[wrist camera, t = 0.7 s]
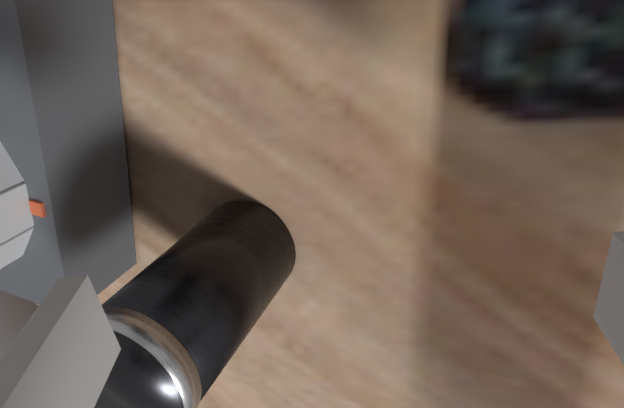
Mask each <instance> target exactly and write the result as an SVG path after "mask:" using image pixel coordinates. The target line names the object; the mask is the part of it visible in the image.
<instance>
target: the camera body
mask: <svg viewBox="0 0 624 408" xmlns="http://www.w3.org/2000/svg"><path fill="white" fill-rule="evenodd" d="M135 264H136V253H135V242H134V231H133V221H132V210H131V199H130V188H129V177H128V166H127V156H126V145H125V134H124V123H123V112H122V102H121V91H120V80H119V69H118V58H117V47H116V37H115V26H114V15H113V4H112V0H0V290H1V291H4V292H7V293H10V294H13V295H15V296H18V297H21V298H24V299H27V300H29V301H32V302H35V303H37V304H41V302H42V301H43V300H44V298H45V297H46V295H47V294H48V293H49V291H50V290H51V288H52V287H53V286H54V284H55V283H56V281H57V280H58V279H59V277H66V276H78V275H88V277H89V279H90V281H91V283H92V285H93V288H94V290H95V292H96V294H97V295H98V294H99V293H100V292H101V291H103V290H104V289H105V288H106V287H108V286H109V285H110V284H111V283H112V282H114V281H115V280H116V279H117V278H119V277H120V276H121V275H122V274H124V273H125V272H126V271H127V270H129V269H130V268H131V267H132V266H134V265H135Z"/></svg>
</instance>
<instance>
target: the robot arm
mask: <svg viewBox="0 0 624 408" xmlns="http://www.w3.org/2000/svg"><path fill="white" fill-rule="evenodd" d="M593 318H594V319H595V321H596V322H597V324H598V325H599V327H600V329H601V330H602V332H603V333H604V335H605V336H606V338H607V339H608V341H609V342H610V344H611V346H612V347H613V349H614V350H615V352H616V353H617V355H618V356H619V358H620V360H621V361H622V363H623V364H624V232H613V235H612V239H611V243H610V247H609V252H608V256H607V260H606V264H605V269H604V273H603V277H602V281H601V286H600V290H599V294H598V298H597V303H596V307H595V311H594V315H593ZM120 350H121V347H120V345H119V343H118V341H117V338H116V336H115V334H114V332H113V330H112V327H111V325H110V323H109V321H108V319H107V316H106V314H105V312H104V310H103V307H102V305H101V303H100V301H99V299H98V296H97V294H96V292H95V290H94V288H93V285H92V283H91V281H90V279H89V277H88V275H78V276H66V277H59V279H58V280H57V281H56V283H55V284H54V286H53V287H52V288H51V290H50V291H49V293H48V294H47V295H46V297H45V298H44V300H43V301H42V302H41V304H40V305H39V307H38V308H37V309H36V311H35V312H34V314H33V315H32V316H31V318H30V319H29V321H28V322H27V323H26V325H25V326H24V328H23V329H22V331H21V332H20V333H19V335H18V336H17V338H16V339H15V340H14V342H13V343H12V345H11V346H10V347H9V349H8V350H7V352H6V353H5V354H4V356H3V357H2V359H1V360H0V408H94V407H95V404H96V402H97V400H98V398H99V396H100V394H101V391H102V389H103V387H104V385H105V383H106V381H107V378H108V376H109V374H110V372H111V370H112V368H113V365H114V363H115V361H116V359H117V357H118V355H119V352H120Z"/></svg>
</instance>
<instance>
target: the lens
mask: <svg viewBox="0 0 624 408" xmlns="http://www.w3.org/2000/svg"><path fill="white" fill-rule="evenodd" d="M295 257H296V253H295V246H294V242H293V239H292V237H291V235H290V233H289V231H288V229H287V228H286V226H285V225H284V224H283V222H282V221H281V220H280V219H279V218H278V217H277V216H276V215H275V214H273V213H272V212H271V211H269V210H268V209H266V208H264V207H262V206H260V205H258V204H255V203H252V202H247V201H232V202H228V203H225V204H223V205H221V206H219V207H218V208H217V209H216V210H214V211H213V212H212V213H211V214H210V215H209V216H207V217H206V218H205V219H204V220H203V221H201V222H200V223H199V224H198V225H197V226H195V227H194V228H193V229H192V230H191V231H189V232H188V233H187V234H186V235H185V236H183V237H182V238H181V239H180V240H179V241H178V242H176V243H175V244H174V245H173V246H172V247H170V248H169V249H168V250H167V251H166V252H164V253H163V254H162V255H161V256H160V257H158V258H157V259H156V260H155V261H154V262H152V263H151V264H150V265H149V266H148V267H147V268H145V269H144V270H143V271H142V272H141V273H139V274H138V275H137V276H136V277H135V278H133V279H132V280H131V281H130V282H129V283H127V284H126V285H125V286H124V287H123V288H121V289H120V290H119V291H118V292H117V293H115V294H114V295H113V296H112V297H111V298H110V299H108V300H107V301H106V302H105V303H104V304H102V307H103V310H104V312H105V314H106V316H107V319H108V321H109V323H110V325H111V327H112V330H113V332H114V334H115V336H116V338H117V341H118V343H119V345H120V347H121V350H120V352H119V355H118V357H117V359H116V361H115V363H114V365H113V368H112V370H111V372H110V374H109V376H108V378H107V381H106V383H105V385H104V387H103V389H102V391H101V394H100V396H99V398H98V400H97V402H96V404H95V407H94V408H197V407H198V405H199V403H200V401H201V400H202V398H203V397H204V395H205V394H206V392H207V391H208V390H209V388H210V387H211V385H212V384H213V383H214V381H215V380H216V378H217V377H218V375H219V374H220V373H221V371H222V370H223V368H224V367H225V366H226V364H227V363H228V361H229V360H230V358H231V357H232V356H233V354H234V353H235V351H236V350H237V349H238V347H239V346H240V344H241V343H242V341H243V340H244V339H245V337H246V336H247V334H248V333H249V332H250V330H251V329H252V327H253V326H254V325H255V323H256V322H257V320H258V319H259V317H260V316H261V315H262V313H263V312H264V310H265V309H266V308H267V306H268V305H269V303H270V302H271V300H272V299H273V298H274V296H275V295H276V293H277V292H278V291H279V289H280V288H281V286H282V285H283V283H284V282H285V281H286V279H287V278H288V276H289V275H290V274H291V272H292V270H293V267H294V264H295Z"/></svg>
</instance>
